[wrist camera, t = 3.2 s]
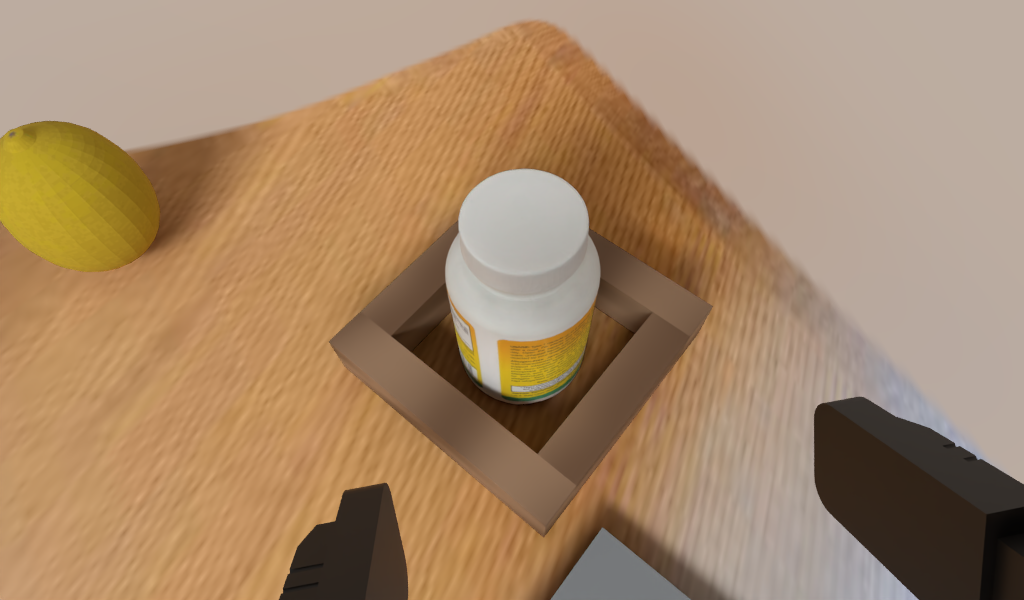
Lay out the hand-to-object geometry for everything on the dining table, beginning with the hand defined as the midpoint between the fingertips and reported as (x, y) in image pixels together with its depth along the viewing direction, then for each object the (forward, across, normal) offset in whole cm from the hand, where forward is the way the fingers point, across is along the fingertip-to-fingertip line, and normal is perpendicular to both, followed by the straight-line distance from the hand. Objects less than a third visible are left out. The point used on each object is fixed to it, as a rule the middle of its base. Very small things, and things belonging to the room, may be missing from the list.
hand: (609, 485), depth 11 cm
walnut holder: (+15, 0, +3) cm, 16 cm away
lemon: (+22, +18, -3) cm, 28 cm away
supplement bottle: (+16, 0, +3) cm, 16 cm away
